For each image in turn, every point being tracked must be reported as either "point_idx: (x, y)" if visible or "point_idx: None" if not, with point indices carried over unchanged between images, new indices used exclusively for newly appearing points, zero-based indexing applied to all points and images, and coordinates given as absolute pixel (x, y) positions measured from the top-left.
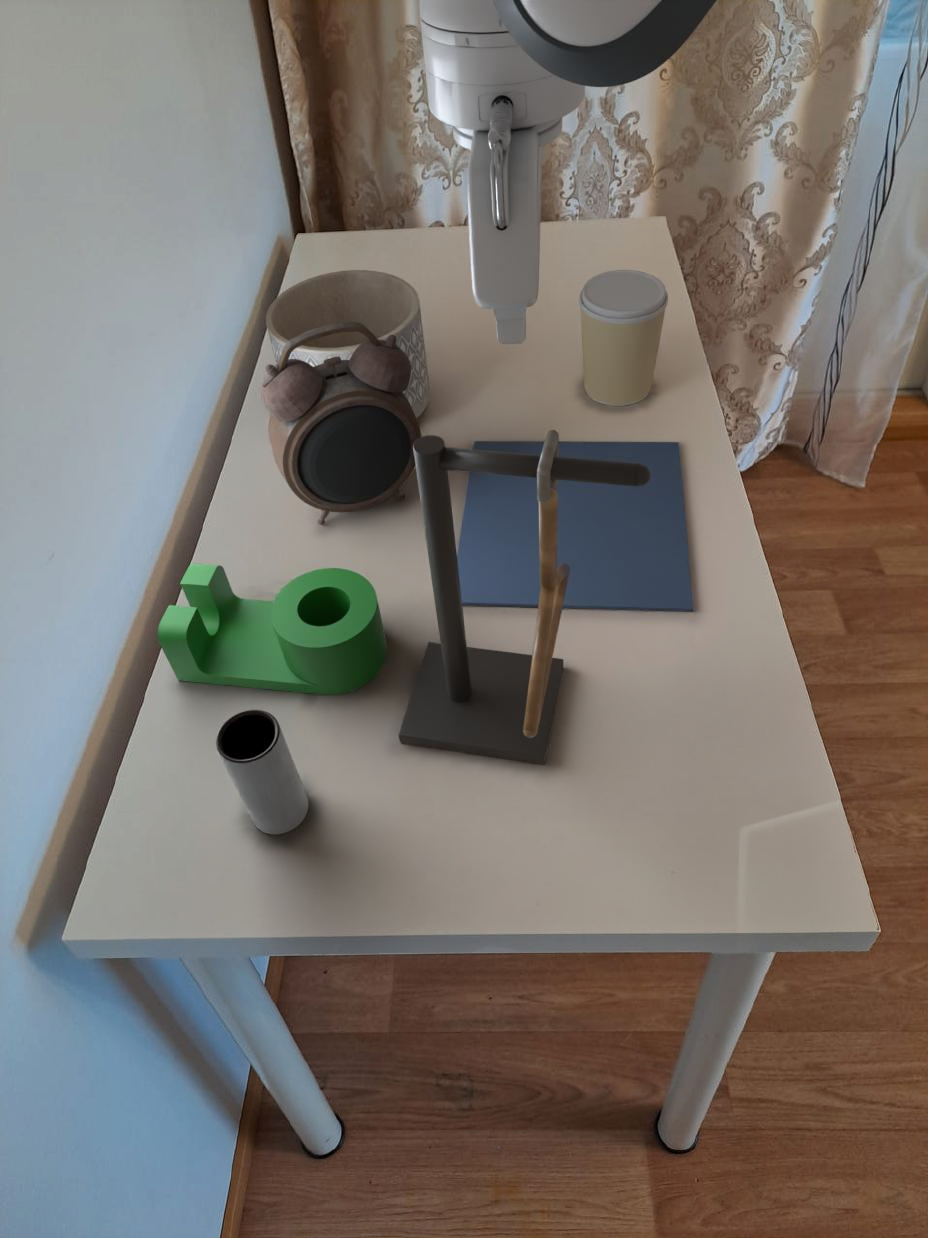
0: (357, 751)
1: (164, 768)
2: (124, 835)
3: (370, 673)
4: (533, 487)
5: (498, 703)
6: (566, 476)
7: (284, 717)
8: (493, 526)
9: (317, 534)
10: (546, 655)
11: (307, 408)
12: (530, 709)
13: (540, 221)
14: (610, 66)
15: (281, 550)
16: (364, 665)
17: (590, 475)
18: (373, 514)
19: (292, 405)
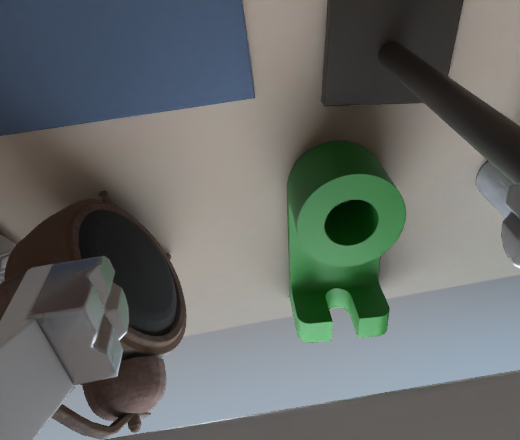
0: (444, 133)
1: (454, 266)
2: (509, 267)
3: (365, 150)
4: (24, 40)
5: (404, 6)
6: None
7: (407, 204)
8: (119, 77)
9: (182, 253)
10: None
11: (152, 358)
12: None
13: (463, 435)
14: None
15: (212, 274)
16: (373, 159)
17: None
18: (137, 213)
19: (160, 374)
